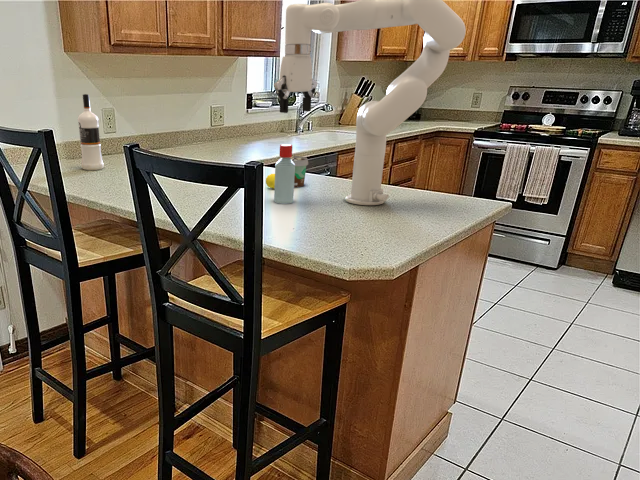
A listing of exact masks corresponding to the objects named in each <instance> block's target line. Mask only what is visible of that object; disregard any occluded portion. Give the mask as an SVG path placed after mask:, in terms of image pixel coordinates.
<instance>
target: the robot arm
mask: <svg viewBox="0 0 640 480" xmlns="http://www.w3.org/2000/svg"><path fill="white" fill-rule="evenodd" d="M285 10H286V11H285V34H284V35H285V36H284V37H285V38H284V40H285V41H284V56H282V59H281V62H280V63H281V64H280V71H279V79H278V80H277V81H275V82H274V83H273V87H274V90H275V94H276V95H277V98H278V99H279V113H281V114H288V113H289V98H288V97H289V95H290V94H291V93H302V94H303V97H302V112H311V110H312V99H313V97H314V94H315V93H316V89H317V87H318V81H316V80H315V79H314V78H313V67H312V65H313V64H312V56H311V52H312V48H311V39H312V37H311V36H312V31H313V32H314V33H317V34H320V35H322V34H323V35H324V34H331V33H340V32H349V31H367V30H378V29H386V28H394V27H395V28H396V27H404V26H413V25H418V26H419V28H421V29H422V30H423V31H424V35H423V49H422V51H421V53H420V55H419V57H418V58H417V59H416V60H415V61H414V62H413V63H412V64H411V65H410V66H409V67H407V68H406V69H405V70H404V71H403V72H402V73H401V74H400V75H398V76H397V77H396V78H395V79H393V80H392V81H391V82H390V83H389V84H388V87H387V89H386V93H385V95H384V96H383V98H381V99H380V100H370V101H367V102H365V103H364V104H363V105H362V106H361V107H360V108H359V109H358V112H357V115H356V123H355V127H356V128H355V148H354V158H353V167H352V179H351V187H350V188H351V189H350V194H347V195H346V196H345V201H346V202H347V203H350V204H354V205H358V206H379V205H382V204H384V203H385V202H387V200H388V199H389V197H390V196H389V194H385V193H384V189H383V188H382V181H383V174H384V173H383V172H384V165H385V156H386V150H387V135H388V134H390V133H392V132H393V131H394V130H395V129H397V128H398V127H399V126H400V125H401V124H403V123H404V122H405V121H406V120H408V119H409V117H411V116H412V115H413V114H414V113H415V112H416V111H418V110H419V109H420V108H421V106H422V105H423V104H424V103H425V101H426V99H427V97H428V96H427V95H428V88H429V87H430V86H432V84H434V82H436V80H438V79H439V78H440V76H441V75H443V73H444V71H445V69H446V67H447V65H448V61H449V58H450V54H451V53H450V52H451V50H453V49H456V48H457V47H458V46H460V45H461V44H462V43H463V41H464V39H465V38H466V37H465V36H466V33H467V32H466V31H467V30H466V24H465V23H464V20H463V19H462V18H461V17H460V16H459V15H458V14H457V13H456V11H454V10H453V9H452V8H451V7H450V5H448V4H447V3H446V2H445V1H444V0H356V1H352V2H348V3H339V4H333V3H331V2H321V3H312V4H307V3H294V4H289V5H288V6H287V7H286V9H285Z"/></svg>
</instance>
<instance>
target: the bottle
mask: <svg viewBox="0 0 640 480" xmlns="http://www.w3.org/2000/svg"><path fill="white" fill-rule="evenodd" d="M292 160H293V159H292V158H291V157H289V158H283V157H280V158H279V159H278V161H276V163H275V165H274V166H275V167H274V169H275V170H274V174H275V188H274V189H273V190H274V191H273V202H274V203H276V204H282V205H284V204H285V205H287V204H288V205H289V204H292V203H294V192H295V187H294V178H295V163H293V161H292Z"/></svg>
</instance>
